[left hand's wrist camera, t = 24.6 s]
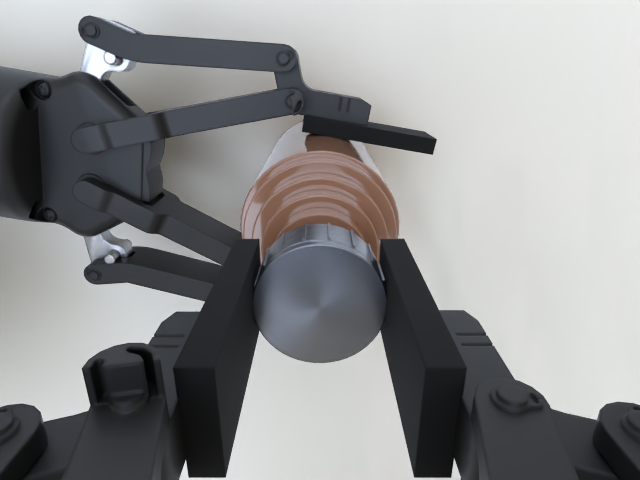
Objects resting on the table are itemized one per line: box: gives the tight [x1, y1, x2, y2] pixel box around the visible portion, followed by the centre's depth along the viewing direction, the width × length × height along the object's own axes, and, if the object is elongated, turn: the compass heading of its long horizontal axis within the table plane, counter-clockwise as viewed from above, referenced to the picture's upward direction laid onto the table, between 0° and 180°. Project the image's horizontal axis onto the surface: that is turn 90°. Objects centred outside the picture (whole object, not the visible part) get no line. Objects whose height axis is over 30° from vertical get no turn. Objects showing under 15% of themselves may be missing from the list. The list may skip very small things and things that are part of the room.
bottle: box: [241, 121, 399, 265], centre depth 22 cm, size 7×7×18 cm
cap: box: [253, 223, 387, 363], centre depth 14 cm, size 4×4×2 cm
